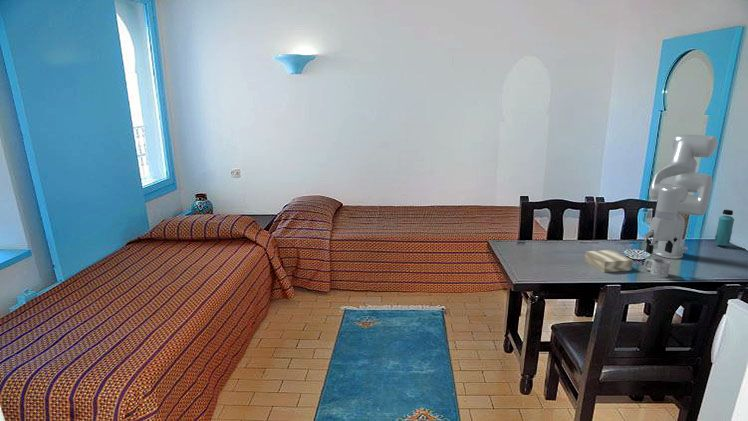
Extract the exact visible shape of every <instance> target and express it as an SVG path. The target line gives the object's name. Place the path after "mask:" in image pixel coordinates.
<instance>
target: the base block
mask: <svg viewBox="0 0 748 421" xmlns="http://www.w3.org/2000/svg"><path fill="white" fill-rule="evenodd" d="M584 255H585V256H584V262H585V263H587V264H589V265H590V266H591V267H594V268H596V269H597V270H599V271H601V272H603V273H612V272H613V273H615V272H626V271H632V267H633V259H631V258H629V257H628V256H625V255H624V254H621V253H619V252H617V251H615V250H614V249H603V250H600V249H599V250H587V251H586V250H585V254H584Z"/></svg>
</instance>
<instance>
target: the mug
mask: <svg viewBox="0 0 748 421" xmlns="http://www.w3.org/2000/svg"><path fill="white" fill-rule="evenodd" d="M648 262H650V263H651V267H648V266H647V265H648ZM643 264H644V265H643V266H644V269H645V270H648V271H649V272H650V275H651V276H653V277H656V278H662V279H664V278H668V277H669V272H670V266H671V261H670V260H668V259H665V258H660V257H657V258H652V259H651V258H646V259H645V261H644V263H643Z"/></svg>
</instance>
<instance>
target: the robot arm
mask: <svg viewBox="0 0 748 421" xmlns="http://www.w3.org/2000/svg"><path fill="white" fill-rule="evenodd" d="M718 142H719V141H718V139H717V137H716V136H715V135H706V134H705V135H704V134H703V135H702V134H678V135H676V136H674V138H673V139H672V154H671V157H670V161H669V163H668V164H667V165H666V166H664V167H662V168H661V169H660V170H658V171H657V172H656V173H655V174H654V175H653V178H652V181H651V183H650V186H649V191H648V196H649V197H650V199H653V200H657V202H656V208H655V214H654V217H652V219H651V220H650V222H649V227H648V232H646V233H644V234H643V239H644V240H643V241H644V242H645V244H646V247H645V252H646V253H647V254H650V255H652V254H654V255H655V256H659V257H662V258H664V259H665V258H666V259H672V260H673V259H675V260H679V259H683V257H684V254H683V253H682V252H688V251H689V248H688V246H683V247H682V242H683V237H684V236H683V235H684V231H685V225H686V220H685V218H684V217H683V215H688V216H689V215H690V216H697V217H700V216H704V215H705V214H706V212H707V209H708V206H709V201H710V195H711V191H712V186H713V178H712V176H711V175H710V174H707V173H699V172H696V169H697V165H698V163H697V160H696V159H695V158H704V159H706V158H707V159H708V158H711V157H712V156H713V155H714V153H715V151H716V149H717V147H718V145H719V143H718ZM668 178H671V184H670V183H661V182H662V181H664V180H666V179H668ZM689 193H694V194H689ZM695 194H696V195H695ZM656 242H657V246H656V248H654V244H655V243H656Z"/></svg>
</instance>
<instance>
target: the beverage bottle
mask: <svg viewBox="0 0 748 421" xmlns="http://www.w3.org/2000/svg"><path fill="white" fill-rule="evenodd" d="M722 214H723V215H721V216H719V219H718V222H717V223H718V224H717V226H716V231H715V236H714V244H716V245H719V246H723V247H724V246H725V247H726V246H729V245H730V243H731V237H732V233H733V226H734V222H735V218H734V217H733V215H734V210H733V209H732V210H731V209H723V210H722Z"/></svg>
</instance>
